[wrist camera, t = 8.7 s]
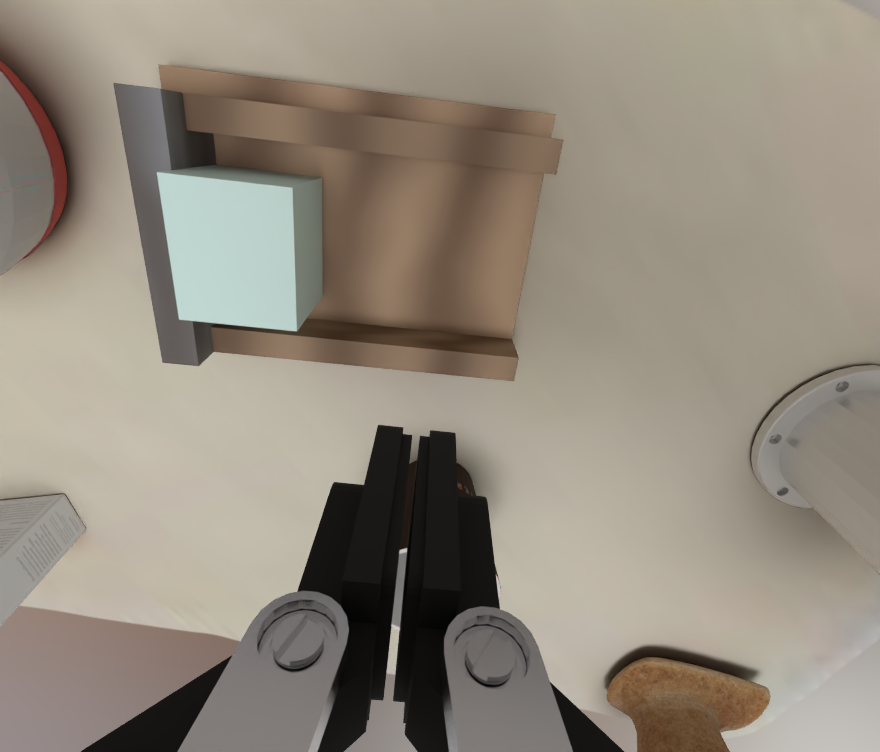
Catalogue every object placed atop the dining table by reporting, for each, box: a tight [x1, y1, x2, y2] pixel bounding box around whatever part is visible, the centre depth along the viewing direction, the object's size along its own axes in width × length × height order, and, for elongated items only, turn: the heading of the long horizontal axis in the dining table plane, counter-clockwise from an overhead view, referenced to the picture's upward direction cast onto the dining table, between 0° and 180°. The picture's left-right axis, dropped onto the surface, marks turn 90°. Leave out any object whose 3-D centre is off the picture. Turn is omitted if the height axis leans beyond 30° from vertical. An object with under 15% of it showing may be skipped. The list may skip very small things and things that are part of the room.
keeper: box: [157, 165, 323, 331], centre depth 25 cm, size 6×7×6 cm
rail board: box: [114, 64, 563, 381], centre depth 27 cm, size 21×16×6 cm
